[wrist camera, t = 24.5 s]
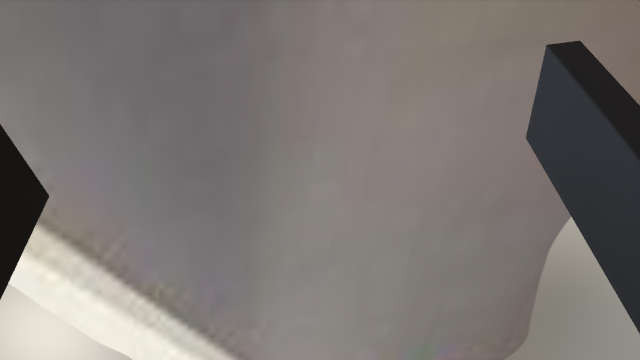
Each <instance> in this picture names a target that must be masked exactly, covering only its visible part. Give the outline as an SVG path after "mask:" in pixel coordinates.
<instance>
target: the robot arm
mask: <svg viewBox="0 0 640 360" xmlns="http://www.w3.org/2000/svg"><path fill="white" fill-rule="evenodd" d="M526 139H527V141H528V142H529V144H530V146H531V147H532V149H533V151H534V153H535V154H536V156H537V158H538V160H539V161H540V163H541V165H542V166H543V168H544V170H545V172H546V173H547V175H548V177H549V178H550V180H551V182H552V184H553V185H554V187H555V189H556V190H557V192H558V194H559V196H560V197H561V199H562V201H563V203H564V204H565V206H566V208H567V209H568V211H569V213H570V215H571V216H572V218H573V220H574V221H575V223H576V225H577V227H578V228H579V230H580V232H581V233H582V235H583V237H584V239H585V240H586V242H587V244H588V245H589V247H590V249H591V251H592V252H593V254H594V256H595V257H596V259H597V261H598V263H599V264H600V266H601V268H602V270H603V271H604V273H605V275H606V276H607V278H608V280H609V282H610V283H611V285H612V287H613V288H614V290H615V292H616V294H617V295H618V297H619V299H620V301H621V302H622V304H623V306H624V307H625V309H626V311H627V313H628V314H629V316H630V318H631V319H632V321H633V323H634V325H635V326H636V328H637V330H638V331H639V333H640V106H639V104H638V103H637V102H636V101H635V100H634V99H633V98H632V97H631V96H630V95H629V94H628V93H627V91H626V90H625V89H624V88H623V87H622V86H621V85H620V84H619V83H618V82H617V81H616V79H615V78H614V77H613V76H612V75H611V74H610V73H609V72H608V71H607V70H606V69H605V67H604V66H603V65H602V64H601V63H600V62H599V61H598V60H597V59H596V58H595V57H594V55H593V54H592V53H591V52H590V51H589V50H588V49H587V48H586V47H585V46H584V45H583V43H582V42H581V41H574V42H566V43H558V44H550V45H547V46H546V50H545V55H544V59H543V63H542V68H541V72H540V77H539V81H538V86H537V90H536V95H535V99H534V104H533V108H532V113H531V117H530V122H529V126H528V131H527V135H526ZM48 198H49V195H48V193H47V192H46V190H45V189H44V188H43V186H42V185H41V183H40V182H39V180H38V179H37V177H36V176H35V174H34V173H33V171H32V170H31V168H30V167H29V166H28V164H27V163H26V161H25V160H24V158H23V157H22V155H21V154H20V152H19V151H18V149H17V148H16V146H15V145H14V144H13V142H12V141H11V139H10V138H9V136H8V135H7V133H6V132H5V130H4V129H3V127H2V126H1V125H0V299H1V297H2V295H3V293H4V291H5V289H6V287H7V285H8V282H9V280H10V278H11V276H12V274H13V272H14V270H15V268H16V265H17V263H18V261H19V259H20V257H21V255H22V253H23V251H24V249H25V246H26V244H27V242H28V240H29V238H30V236H31V234H32V232H33V229H34V227H35V225H36V223H37V221H38V219H39V217H40V215H41V213H42V210H43V208H44V206H45V204H46V202H47V200H48Z"/></svg>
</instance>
